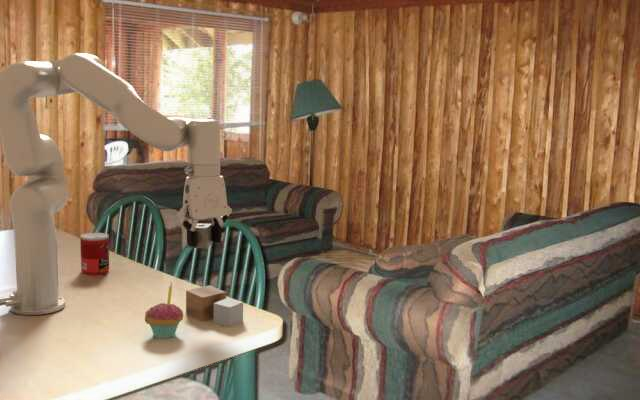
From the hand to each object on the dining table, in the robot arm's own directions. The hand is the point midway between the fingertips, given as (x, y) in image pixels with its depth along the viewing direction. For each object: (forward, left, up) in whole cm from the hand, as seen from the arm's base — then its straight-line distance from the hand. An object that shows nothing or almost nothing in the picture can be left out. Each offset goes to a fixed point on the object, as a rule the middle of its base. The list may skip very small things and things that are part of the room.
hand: (204, 243), depth 169 cm
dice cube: (0, +2, -1) cm, 2 cm away
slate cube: (+1, -8, -18) cm, 20 cm away
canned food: (-5, +50, -18) cm, 53 cm away
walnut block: (0, 0, -18) cm, 18 cm away
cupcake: (-15, -6, -18) cm, 24 cm away
